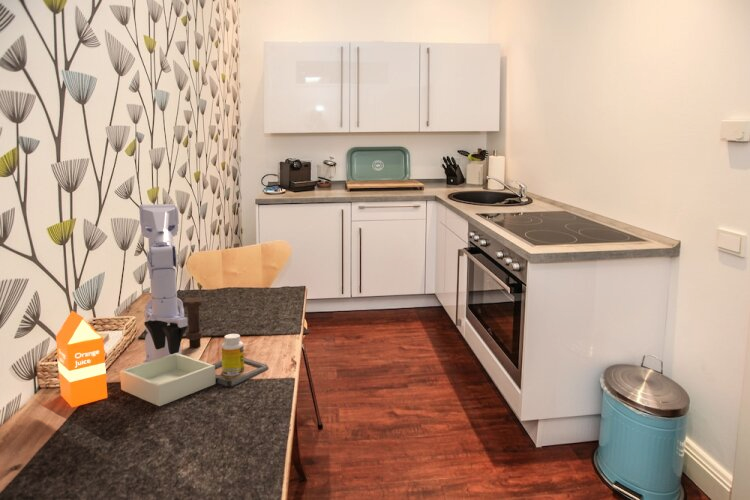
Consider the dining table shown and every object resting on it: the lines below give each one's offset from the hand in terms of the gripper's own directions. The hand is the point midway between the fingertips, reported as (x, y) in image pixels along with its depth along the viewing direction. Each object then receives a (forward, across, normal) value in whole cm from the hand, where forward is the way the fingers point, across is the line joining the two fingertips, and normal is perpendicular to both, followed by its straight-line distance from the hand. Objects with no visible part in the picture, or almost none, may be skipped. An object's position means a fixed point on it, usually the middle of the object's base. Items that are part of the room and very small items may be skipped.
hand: (167, 350), depth 129 cm
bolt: (+9, -18, +21) cm, 29 cm away
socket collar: (+9, +6, +15) cm, 19 cm away
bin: (+9, 0, 0) cm, 9 cm away
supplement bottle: (+10, +6, +15) cm, 19 cm away
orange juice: (+10, -11, -15) cm, 21 cm away
